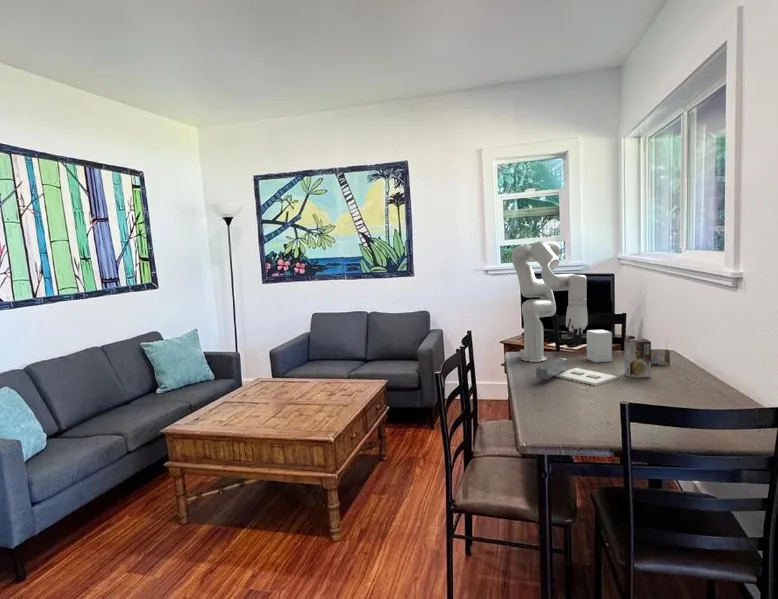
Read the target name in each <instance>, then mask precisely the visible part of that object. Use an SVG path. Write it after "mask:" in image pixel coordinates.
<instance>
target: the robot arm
mask: <svg viewBox="0 0 778 599" xmlns="http://www.w3.org/2000/svg"><path fill="white" fill-rule="evenodd" d="M560 253H561V246H560V245H559V243H558V242H556V241H554V240H545V241H544V240H541V241H536V242H534V243H532V244H527V245H526V244H524V245H518V246H516V247H515V248H514V249H513V250H512V252H511V262H512V266H513V267H514V270H515V273H516V275H517V280H518V285H519V288H520V293H521V295H522V296H523V297H524V298H534V299H527V300H526V301H524V302H523V303H522V305H521V313H522V318H523V340H524V341H523V343H524V344H523V345H524V346H523V347H524V349H520V350H519V351H518V353H519V354H521V355H522V356H521V358H520V359H521V360H522V361H523V360H524V362H527V361H529V363H530V362H531V363H541V361H543V362H545V360H546V361H547V356H545V355H544V325H543V322H542V321H541V320H540V318H545V317H552V316H554V315H555V314H556V312H557V305H556V300H555V296H554V292H558V291H559V292H560V291H568V292H567V293H568V295H567V296H568V298H567V300H568V302H567V303H568V305H567V308H566V314H565V327H566V328H567V329H568V332H572V333H571V334H572V336H573V337H572V340H573V341H572V343H573V344H576V345H581V344H582V342H583V340H582V335H583V331H584V330H586V327H588V323H589V322H588V320H589V318H588V317H589V316H588V307H587V291H588V290H587V288H588V286H587V281H588V280H587V276H586V275H584V274H576V273H558V274H557V273H556V274H555V273H554V272H553V271H554V270H556V268H557V267H558V266H559V264H560V259H559V255H560ZM528 262H537V263H538V264H539V265H540V266H541V271H540V272H541V278H536V276H535V275H536V274H535V271H534V269H533V268H532V266H531V265H530V264H529V263H528Z"/></svg>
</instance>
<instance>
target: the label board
mask: <svg viewBox="0 0 778 599" xmlns="http://www.w3.org/2000/svg"><path fill="white" fill-rule="evenodd" d="M555 376H556V377H555ZM554 377H555V378H558V377H560V378H559V379H563V378H564V380H567V379H569V380H568V381H571V380H573V382H576V381H578V382H577V383H580V382H583V383H582V384H584V383H587V384H586V385H588V384H591V385H590V386H593V385H594V386H593V387H597V385H598V386H600V384H601V385H604V384H607V383H609V381H610V382H612V381H615V380H617V379H618V375H613V374H608V373H603V372H597V371H593V370H589V369H583V368H580V367H575V368H571V369H568V370H567V369H565V370H563V371H561V372H560V373H558V374H556V375H554ZM614 379H615V380H614ZM606 382H607V383H606ZM603 383H604V384H603Z"/></svg>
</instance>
